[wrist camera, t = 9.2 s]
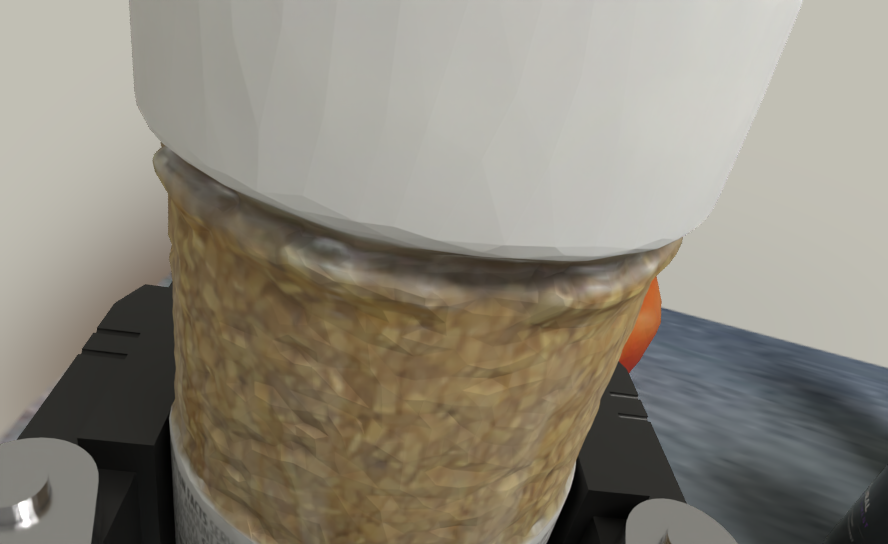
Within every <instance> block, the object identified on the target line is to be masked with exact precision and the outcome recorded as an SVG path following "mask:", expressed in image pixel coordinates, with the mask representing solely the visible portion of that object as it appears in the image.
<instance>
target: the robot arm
mask: <svg viewBox="0 0 888 544" xmlns="http://www.w3.org/2000/svg"><path fill="white" fill-rule="evenodd" d="M174 348H175V341H174V321H173V281H172V283H171V284H170V286H169V287H161V286H154V285H144V286H142V287H140V288H139V289H137V290H135V291H134V292H132V293H130V294H129V295H127V296H125V297H124V298H122V299H121V300H119V301H118V302H116V303H115V304H114V305H113V306H112V308H111V309H110V311H109V312H108V313H107V315H106V316H105V318H104V319H103V320H102V322H101V323H100V325H99V326H98V327H97V332H96V333H93V334H92V336H91V337H90V339H89V340H88V341H87V343H86V344H85V346H84V347H83V348H82V353H81V354H78V355H77V357H76V358H75V359H74V361H73V362H72V364H71V365H70V366H69V368H68V369H67V371H66V372H65V373H64V375H63V376H62V378H61V379H60V380H59V382H58V383H57V385H56V386H55V387H54V389H53V390H52V392H51V393H50V394H49V396H48V397H47V399H46V400H45V401H44V403H43V404H42V405H41V407H40V408H39V410H38V411H37V412H36V414H35V415H34V417H33V418H32V419H31V421H30V422H29V424H28V425H27V426H26V428H25V429H24V431H23V432H22V433H21V435H20V436H19V438H18V439H17V440H14V441H10V442H6V443H2V444H0V544H176V540H175V522H174V504H173V486H172V467H171V447H170V424H169V417H170V411H171V406H172V404H173V402H174V400H175V387H174V381H175V372H176V364H175V356H174ZM647 417H648V416H647V413H646V411H645V409H644V407H643V404H642V402H641V400H638V393H637V391H636V389H635V386H634V384H633V382H632V380H631V377H630V375H629V373H628V371H627V369H626V368H625V367H624V366H623V365H622V364H621V363H620V362H619V361H618V364H617V366H616V368H615V370H614V373H613V375H612V377H611V379H610V382H609V383H608V385H607V387H606V389H605V391H604V393H603V395H602V397H601V399H600V405H599V409H598V412H597V414H596V416H595V419H594V421H593V424H592V426H591V428H590V430H589V432H588V434H587V436H586V438H585V440H584V443H583V445H582V447H581V450H580V452H579V455H578V457H577V459H576V466H575V472H574V477H573V481H572V484H571V488H570V491H569V493H568V496H567V498H566V500H565V503H564V505H563V507H562V510H561V512H560V514H559V516H558V519H557V521H556V523H555V525H554V528H553V530H552V532H551V534H550V537H549V539H548V541H547V543H546V544H738V543H737V542H736V541H735V539H734V538H733V537H732V536H731V534H730V533H729V532H728V531H727V530H726V529H725V528H724V527H723V526H721V525H720V524H719V523H718V522H717V521H715V520H714V519H713V518H711V517H710V516H709V515H707V514H706V513H704V512H702V511H701V510H699V509H697V508H695V507H693V506H691V505H688V504H687V503H686V501H685V499H684V496H683V494H682V492H681V490H680V487H679V485H678V483H677V481H676V478H675V476H674V474H673V472H672V469H671V467H670V465H669V463H668V461H667V458H666V456H665V454H664V452H663V449H662V447H661V445H660V443H659V440H658V438H657V436H656V434H655V431H654V429H653V427H652V425H651V422H648V421H647Z"/></svg>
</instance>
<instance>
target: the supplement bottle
mask: <svg viewBox="0 0 888 544" xmlns="http://www.w3.org/2000/svg"><path fill="white" fill-rule="evenodd" d="M823 544H888V464H887V466H886V467H885V468H884V469H883V470H882V472H881V473H880V474H879V475H878V476H877V478H876V479H875V480H874V481H873V482H872V484H871V485H870V486H869V487H868V488H867V489H866V491H865V492H864V493H863V494H862V495H861V497H860V498H859V499H858V500H857V501H856V503H855V504H854V505H853V506H852V507H851V508H850V510H849V511H848V512H847V513H846V514H845V516H844V517H843V518H842V519H841V520H840V522H839V523H838V524H837V525H836V526H835V528H834V529H833V530H832V532H831V533H830V534H829V535H828V536H827V538H826V539H825V540H824V542H823Z"/></svg>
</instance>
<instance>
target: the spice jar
mask: <svg viewBox="0 0 888 544" xmlns="http://www.w3.org/2000/svg"><path fill="white" fill-rule="evenodd" d="M802 3H803V0H129V8H130V25H131V42H132V57H133V74H134V91H135V97H136V102H137V106H138V108H139V110H140V112H141V114H142V115H143V117H144V119H145V121H146V123H147V125H148V127H149V128H150V130H151V131H152V132H153V133H154V134H155V135H156V136H157V138H158V139H159V140H160V141H161V146H162V148H160V149H159V150H158V151H157V152H156V153H155V154H154V157H153V165H154V169H155V172H156V174H157V176H158V177H159V179H160V181H161V183H162V184H163V186H164V188H165V189H166V191H167V192H168V235H169V238H170V240H171V243H172V247H171V252H170V256H169V260H170V266H171V272H172V280H173V321H174V341H175V348H174V356H175V364H176V372H175V381H174V387H175V400H174V402H173V404H172V406H171V411H170V417H169V424H170V447H171V467H172V486H173V504H174V522H175V540H176V544H546V543H547V541H548V539H549V537H550V534H551V532H552V530H553V528H554V525H555V523H556V521H557V519H558V516H559V514H560V512H561V510H562V507H563V505H564V503H565V500H566V498H567V496H568V493H569V491H570V488H571V484H572V481H573V477H574V472H575V466H576V459H577V457H578V455H579V452H580V450H581V447H582V445H583V443H584V440H585V438H586V436H587V434H588V432H589V430H590V428H591V426H592V424H593V421H594V419H595V416H596V414H597V412H598V409H599V405H600V399H601V397H602V395H603V393H604V391H605V389H606V387H607V385H608V383H609V382H610V379H611V377H612V375H613V373H614V370H615V368H616V366H617V364H618V361H619V359H620V356H621V353H622V350H623V347H624V345H625V343H626V342H627V340H628V338H629V336H630V334H631V333H632V331H633V329H634V327H635V324H636V321H637V318H638V315H639V312H640V310H641V307H642V304H643V301H644V298H645V296H646V294H647V292H648V289H649V287H650V284H651V282H652V280H653V279H654V278H655V277H656V276H657V275H658V274H659V273H660V272H661V271H662V270H663V269H664V268H665V267H666V266H667V265H668V264H669V263H670V262H671V261H672V259H673V258H674V257H675V255H676V254H677V252H678V250H679V248H680V245H681V243H682V239H683V236H685V235H686V234H688V233H689V232H691V231H693V230H694V229H696V228H697V227H698V226H699V225H700V224H701V223H702V222H703V221H704V220H705V219H706V218H707V217H708V216H709V215H710V213H711V211H712V210H713V208H714V206H715V205H716V203H717V201H718V198H719V196H720V194H721V192H722V189H723V187H724V185H725V183H726V180H727V178H728V176H729V174H730V171H731V169H732V167H733V165H734V163H735V160H736V158H737V156H738V154H739V151H740V149H741V147H742V145H743V143H744V140H745V138H746V135H747V134H748V131H749V129H750V127H751V125H752V122H753V120H754V118H755V115H756V113H757V111H758V108H759V106H760V104H761V102H762V99H763V97H764V95H765V92H766V90H767V87H768V85H769V82H770V80H771V78H772V75H773V73H774V71H775V68H776V66H777V63H778V61H779V59H780V56H781V54H782V51H783V49H784V47H785V44H786V42H787V39H788V37H789V34H790V32H791V30H792V27H793V25H794V23H795V20H796V18H797V15H798V13H799V10H800V8H801V5H802Z"/></svg>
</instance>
